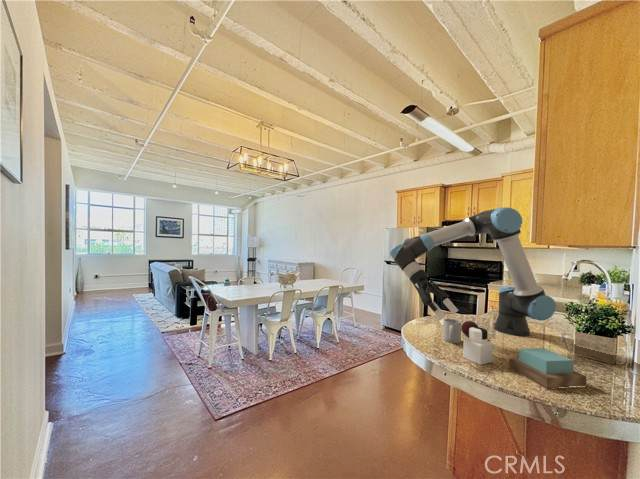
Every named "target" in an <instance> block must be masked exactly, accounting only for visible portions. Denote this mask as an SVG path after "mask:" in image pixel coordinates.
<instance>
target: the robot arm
mask: <svg viewBox="0 0 640 479" xmlns="http://www.w3.org/2000/svg"><path fill="white" fill-rule="evenodd" d="M462 220H463V221H460V222H458V223H457V222H456V223H454V224H451V225H448V226H444V227H442V228H438V229H436V230H432V231H430V232H426V233H422V234H420V235H417V236H415V237H411V238H410V237H409V238H406V239H404V240H403V241H402V242H401V243H399V244H397V245H395V246H393V247H392V248H391V249H390V251H389V255H390V256H391V258H392V260H393V262H394V263H395V264H397V266H398V267H399V268H400V269H401V271H402V272H403V273H404V276H406V277H407V278H408V279H409V281H410V282H411V283H412V284H413V286H414V288H415V289H416V291H417V293H418V296H419V297H420V300H421V303H422V304H423V305H424V306H425V307H429V308H430V309H431V311H432V313H433V314H434V315H435V316H436V317H437V318H438V319H439V320H442V319H443V318H444V317H446V314H445V313H444V312H443V310H442V309H441V308H440V307H439V305H438V304H437V303H436V301H433V298H432V295H431V294H433V295H434V296H436V297H437V298H439V299H440V300H441V301H442V303H443V304H444V305H445V307H446V308H447V309H448V310H449V311H450V312H451V314H453V315H455V314H456V313H457V312H458V311H459V312H460V310H459V309H458V308H457V307H456V306H455V305H454V303H453V301H451V299H449V298H450V295H449V294H448V293H447V292H446V291H444V289H442V288H441V287H440V286H438V285H437V284H436V283H435V282H434V281H433V280H432V279H431V280H430V281H429V280H428V278H429V274H428V273H427V272H426V271H425V270H424V269H423V267H422V266H421V265H420V264H419V262H418V261H417V259H418V258H419V257H421V256H423V255H425V254H427V253H428V252H430V251H431V250H432V249H433V248H435V247H436V246H440V245H442V244H445V243H449V242H452V241H455V240H458V239H460V238H464V237H467V236H469V237H474V236H477V235H478V236H479V235H486V234H489V235H490V238H491V240H492V241H494V242H496V243H497V245H498V247H499V251H500V252H501V255H502V259H503V261H504V264H505V265H506V268H507V271H508V273H509V276H510V278H511V282H512V283H513V285H514V286H505V285H504V286H500V287H499V291H498V314H497V316H496V319H495V322H494V324H493V328H494V330H495V331H498V332H500V333H503V334H506V335H507V334H508V335H511V336H518V337H519V336H520V337H527V336H531V329H530V327H529V324H528V320H527V317H528V318H530V319H532V320H537V321H546V320H549V319H550V318H551V317H553V315H554V314H555V312H556V309H557V305H556V304H557V303H556V301H555V300H554V298H552V297H551V296H549V295H546V292H545V290H544V288H543V286H541V285H540V284H538V283H537V281H536V277H535V276H534V272H533V270H532V268H531V265H530V262H529V260H528V258H527V255H526V252H525V250H524V248H523V245H522V242H521V240H520V237H519V236H520V235H521V232H522V231H521V228H522V224H523V217H522V215H521V213H520V212H519V211H518V210H517V209H515V208H512V207H508V206H507V207H497V208H493V209H488V210H483V211H481V212H478V213H477V214H474V215H472V216H469V217H466V218H464V219H462Z"/></svg>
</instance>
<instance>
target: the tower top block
mask: <svg viewBox="0 0 640 479" xmlns="http://www.w3.org/2000/svg"><path fill="white" fill-rule="evenodd" d="M518 358H519V360H520V361H522V362H523V363H525V364H527V365H529V366H531V367H533V368H535V369H537V370H539V371H541V372H543V373H545V374H556V373H573V371H574V365H575V364H574V362H575V361H574V359H571V358H569V357H566V356H564V355H562V354H559V353H557V352H554V351H553V350H552V351H551V350H549V349H547V348H545V347H541V348H540V347H539V348H538V347H536V348H534V347H533V348H530V347H529V348H519V349H518Z"/></svg>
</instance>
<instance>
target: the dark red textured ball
mask: <svg viewBox="0 0 640 479" xmlns="http://www.w3.org/2000/svg"><path fill="white" fill-rule="evenodd" d="M470 327H479V326H478V324H477V323H476V322H475V321H471V320H467V321H464V322H463V323H461V333H462V334H464V335H465V336H468V337H469V328H470Z"/></svg>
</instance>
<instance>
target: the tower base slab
mask: <svg viewBox="0 0 640 479" xmlns="http://www.w3.org/2000/svg"><path fill="white" fill-rule="evenodd" d="M508 363H509V364H508V369H511V370H512V371H514V372H515V373H517V374H519V375H521V376H523V377H525V378H526V379H528V380H529V381H532V382H534V383H535V384H537V385H539V386H541V387H542V388H544V389H546V390H551V389H550V388H559V387H569V386H586V387H587V376H586V375H584V374H582V373H580V372H577V371H575V370H573V373H556V374H545V373H543V372H541V371H539V370H537V369H535V368H533V367H531V366H529V365H527V364H525V363H523V362H522V361H520V360H519V357H514V358H513V357H510V358H508Z"/></svg>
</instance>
